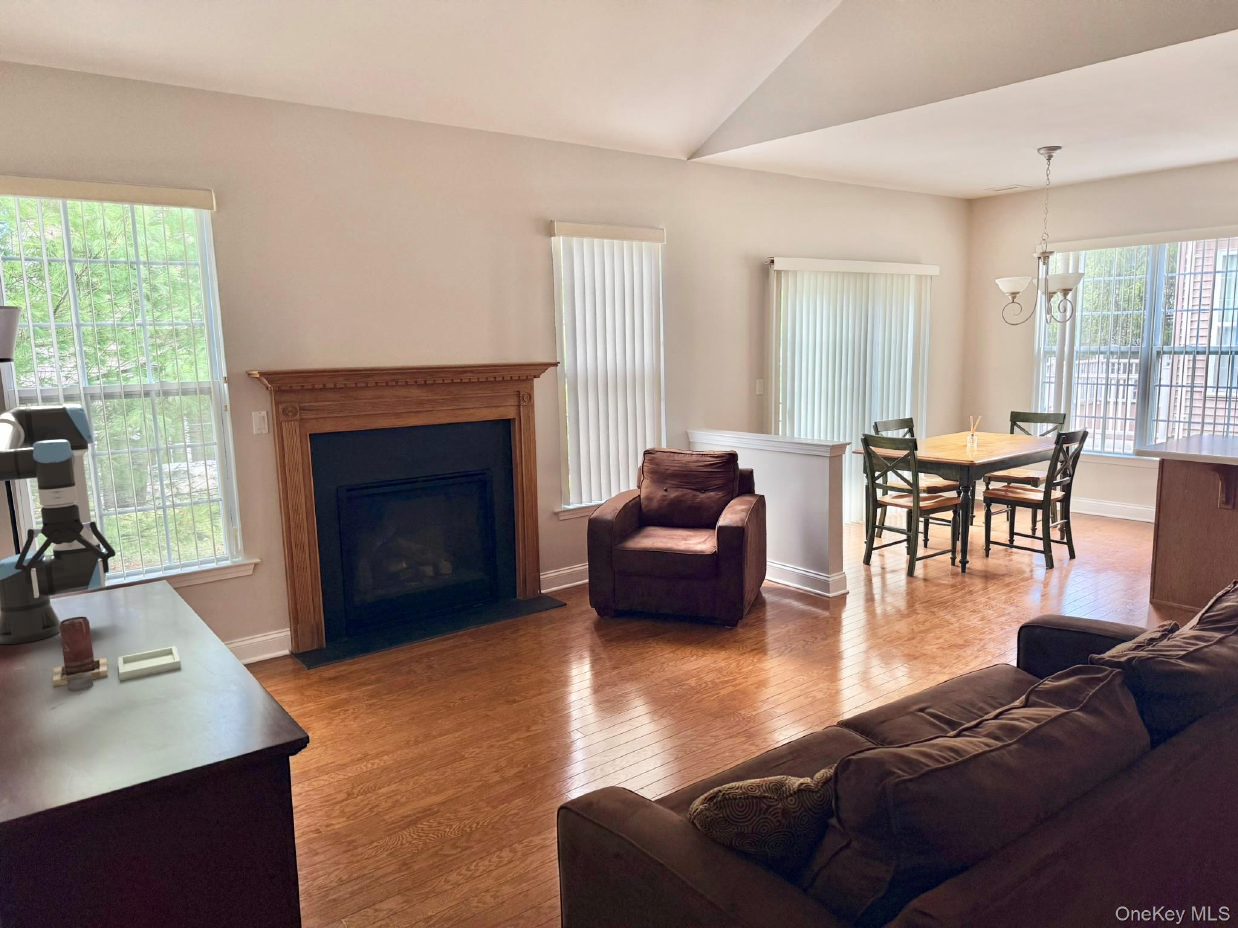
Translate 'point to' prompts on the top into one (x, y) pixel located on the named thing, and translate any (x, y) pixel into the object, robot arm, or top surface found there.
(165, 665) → the tray
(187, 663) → the top surface
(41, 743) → the top surface
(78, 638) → the can
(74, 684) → the collar block
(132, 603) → the top surface
